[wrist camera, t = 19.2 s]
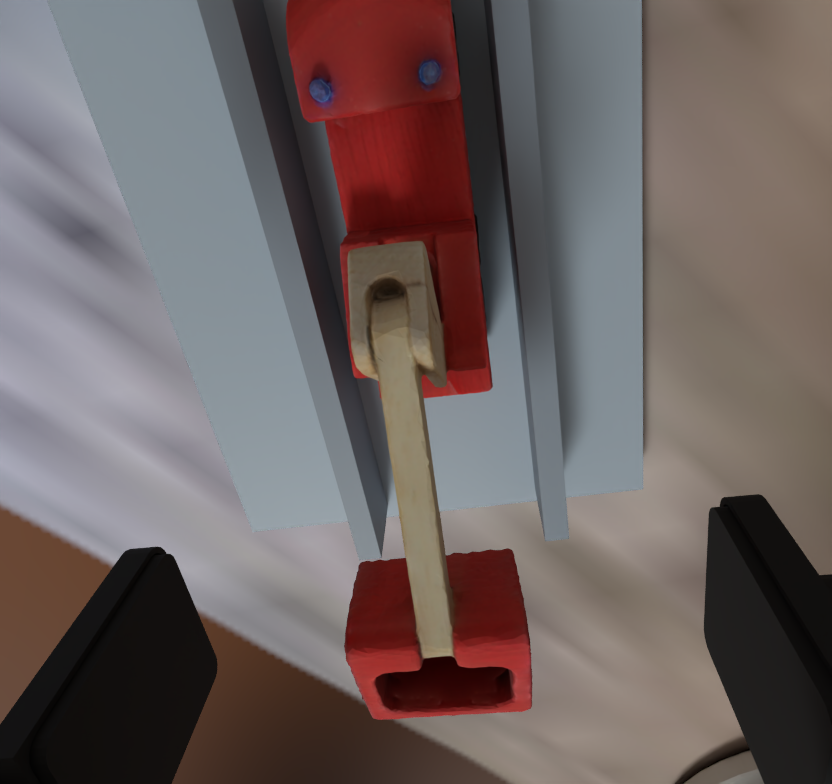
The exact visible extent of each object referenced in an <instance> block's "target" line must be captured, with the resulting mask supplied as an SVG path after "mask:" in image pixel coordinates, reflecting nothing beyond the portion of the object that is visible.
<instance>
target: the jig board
mask: <svg viewBox="0 0 832 784" xmlns="http://www.w3.org/2000/svg"><path fill="white" fill-rule="evenodd" d="M47 2H48V5H49V7H50V10H51V12H52V15H53V18H54V20H55V23H56V25H57V28H58V30H59V33H60V36H61V38H62V41H63V43H64V46H65V49H66V51H67V54H68V56H69V59H70V61H71V64H72V67H73V69H74V72H75V74H76V77H77V80H78V82H79V85H80V87H81V90H82V92H83V95H84V98H85V100H86V103H87V105H88V108H89V111H90V113H91V116H92V118H93V121H94V123H95V126H96V129H97V131H98V134H99V136H100V139H101V141H102V144H103V147H104V149H105V152H106V154H107V157H108V160H109V162H110V165H111V167H112V170H113V172H114V175H115V178H116V180H117V183H118V185H119V188H120V191H121V193H122V196H123V198H124V201H125V203H126V206H127V209H128V211H129V214H130V216H131V219H132V222H133V224H134V227H135V229H136V232H137V234H138V237H139V240H140V242H141V245H142V247H143V250H144V253H145V255H146V258H147V260H148V263H149V265H150V268H151V271H152V273H153V276H154V278H155V281H156V284H157V286H158V289H159V291H160V294H161V296H162V299H163V302H164V304H165V307H166V309H167V312H168V315H169V317H170V320H171V322H172V325H173V327H174V330H175V333H176V335H177V338H178V340H179V343H180V346H181V348H182V351H183V353H184V356H185V358H186V361H187V364H188V366H189V369H190V371H191V374H192V377H193V379H194V382H195V384H196V387H197V389H198V392H199V395H200V397H201V400H202V402H203V405H204V408H205V410H206V413H207V415H208V418H209V420H210V423H211V426H212V428H213V431H214V433H215V436H216V439H217V441H218V444H219V446H220V449H221V451H222V454H223V457H224V459H225V462H226V464H227V467H228V470H229V472H230V475H231V477H232V480H233V482H234V485H235V488H236V490H237V493H238V495H239V498H240V501H241V503H242V506H243V508H244V511H245V513H246V516H247V519H248V521H249V524H250V526H251V529H252V532H257V531H266V530H275V529H284V528H293V527H302V526H312V525H321V524H330V523H339V522H348V523H349V526H350V530H351V533H352V537H353V540H354V544H355V547H356V551H357V554H358V557H359V560H365V559H375V558H381V557H382V549H383V541H384V533H385V525H386V517H394V516H399V509H398V503H397V496H396V490H395V483H394V477H393V471H392V464H391V459H390V453H389V447H388V440H387V432H386V425H385V418H384V412H383V405H382V400H381V398H380V393H379V386H378V381H377V380H375V379H373V378H364V379H361V378H355V377H354V375H353V370H352V363H351V359H350V351H349V345H348V334H347V321H346V309H345V301H344V292H343V282H342V272H341V262H340V244H341V243H342V242H343V239H344V237H345V236H346V235H347V230H346V224H345V220H344V215H343V211H342V207H341V201H340V195H339V191H338V187H337V182H336V177H335V173H334V168H333V164H332V160H331V156H330V147H329V143H328V137H327V133H326V127H325V121H320V122H314V123H310V122H308V121H307V120H305V119H304V117H303V114H302V111H301V107H300V102H299V97H298V93H297V88H296V85H295V80H294V74H293V69H292V65H291V60H290V56H289V49H288V44H287V31H286V10H287V9H286V7H287V2H288V0H47ZM451 8H452V12H453V14H454V16H455V26H456V37H457V46H458V55H459V69H460V77H459V81H460V86H461V91H460V92H461V97H462V103H463V115H464V123H465V131H466V139H467V148H468V156H469V166H470V176H471V183H472V195H473V203H474V214H476V216H477V223H478V231H479V242H480V253H481V264H480V273H481V277H482V283H483V289H484V299H485V309H486V318H487V321H486V327H487V340H488V347H489V357H490V365H491V372H492V383H493V387H492V389H491V390H490V391H487V392H480V393H469V394H463V395H450V396H442V397H432V398H424V405H425V412H426V419H427V426H428V433H429V440H430V448H431V455H432V462H433V469H434V476H435V484H436V491H437V498H438V506H439V511H448V510H458V509H467V508H476V507H485V506H494V505H503V504H512V503H521V502H531V501H538V506H539V511H540V517H541V522H542V527H543V532H544V537H545V541H552V540H562V539H569V530H568V517H567V504H566V498H567V497H576V496H585V495H595V494H604V493H613V492H622V491H631V490H640V489H643V252H642V0H451Z"/></svg>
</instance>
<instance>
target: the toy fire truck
mask: <svg viewBox="0 0 832 784" xmlns="http://www.w3.org/2000/svg"><path fill="white" fill-rule="evenodd" d="M286 9H287V10H286V31H287V44H288V49H289V56H290V60H291V65H292V69H293V74H294V80H295V85H296V88H297V93H298V97H299V102H300V107H301V111H302V114H303V117H304V119H305V120H307V121H308V122H310V123H314V122H320V121H325V127H326V133H327V137H328V143H329V147H330V156H331V160H332V164H333V168H334V173H335V177H336V182H337V187H338V191H339V195H340V201H341V207H342V211H343V215H344V220H345V224H346V230H347V235H346V236H345V237H344V239H343V242H342V243H341V244H340V262H341V272H342V282H343V292H344V301H345V309H346V321H347V334H348V345H349V351H350V359H351V363H352V370H353V375H354V377H355V378H361V379H364V378H373V379H375V380H377V381H378V386H379V393H380V398H381V400H382V405H383V412H384V418H385V425H386V432H387V440H388V447H389V453H390V459H391V464H392V471H393V477H394V483H395V490H396V496H397V503H398V509H399V517H400V522H401V528H402V536H403V543H404V550H405V556H406V558H401V559H390V560H388V561H384V560H377V561H374V562H371V561H365V562H362V563H360V565H359V571H358V572H357V576H356V580H355V582H354V589H353V596H352V599H351V602H350V606H349V613H348V618H347V627H346V633H345V645H344V647H345V653H346V661H347V662H348V665H349V666H350V667H351V672H352V674H353V676H354V678H355V682H356V684H357V686H358V688H359V691H360V693H361V694H362V699H363V700H364V701H365V702H366V704H367V707H368V709H369V711H370V713H371V715H372V717H373V718H374V719H379V720H381V719H400V718H413V717H432V716H443V715H452V716H453V715H461V714H486V713H497V712H523V711H525V710H528V709H531V707H532V669H531V652H530V650H531V649H530V638H529V632H528V624H527V617H526V611H525V607H524V598H523V595H522V591H521V585H520V582H519V576H518V572H517V566H516V563H515V559H514V554H513V551H512V550H510V549H504V550H486V551H482V552H470V553H468V554H463V553H453V554H451V555H448V556H446V555H445V548H444V540H443V533H442V526H441V519H440V512H439V506H438V498H437V491H436V484H435V476H434V469H433V462H432V455H431V448H430V440H429V433H428V426H427V419H426V412H425V405H424V398H432V397H442V396H450V395H463V394H469V393H480V392H487V391H490V390H491V389H492V387H493V383H492V372H491V365H490V357H489V347H488V340H487V327H486V321H487V318H486V309H485V299H484V289H483V283H482V277H481V273H480V264H481V253H480V242H479V231H478V223H477V216H476V214H474V203H473V195H472V183H471V176H470V166H469V156H468V148H467V139H466V131H465V123H464V115H463V103H462V97H461V92H460V91H461V86H460V81H459V77H460V69H459V55H458V46H457V37H456V26H455V16H454V14H453V12H452V8H451V0H288V2H287V7H286Z"/></svg>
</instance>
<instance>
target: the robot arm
mask: <svg viewBox="0 0 832 784" xmlns="http://www.w3.org/2000/svg"><path fill="white" fill-rule="evenodd" d="M704 634H705V639H706V644H707V647H708V650H709V653H710V655H711V658H712V660H713V662H714V665H715V667H716V670H717V672H718V674H719V677H720V679H721V682H722V684H723V686H724V689H725V691H726V693H727V696H728V698H729V701H730V703H731V705H732V708H733V710H734V713H735V715H736V717H737V720H738V722H739V725H740V727H741V729H742V732H743V734H744V737H745V739H746V741H747V744H748V746H749V749H750V750H749V751H745V752H742V753H740V754H737V755H734V756H732V757H729V758H726V759H724V760H721V761H719V762H717V763H715V764H713V765H711V766H709V767H707V768H706V769H704V770H702V771H700V772H699V773H697V774H696V775H694V776H693V777H692V778H690V779H689V780H688V781H686V782H685V783H684V784H832V574H831V575H819V574H818V573H817V572H816V570H815V569H814V567H813V566H812V564H811V563H810V562H809V560H808V559H807V557H806V556H805V554H804V553H803V552H802V550H801V549H800V547H799V546H798V544H797V543H796V542H795V540H794V539H793V537H792V536H791V534H790V533H789V532H788V530H787V529H786V527H785V526H784V524H783V523H782V522H781V520H780V519H779V517H778V516H777V514H776V513H775V512H774V510H773V509H772V507H771V506H770V504H769V503H768V502H767V500H766V499H765V498H764V497H763V496H762V495H759V494H758V495H746V496H735V497H724V498H722V500H721V502H720V507H713V508H711V509H710V511H709V524H708V546H707V569H706V591H705V614H704ZM216 674H217V658H216V655H215V653H214V650H213V648H212V646H211V643H210V641H209V639H208V636H207V634H206V632H205V629H204V627H203V624H202V622H201V620H200V617H199V615H198V612H197V610H196V608H195V605H194V603H193V601H192V598H191V596H190V594H189V591H188V589H187V586H186V584H185V582H184V579H183V577H182V575H181V572H180V570H179V567H178V565H177V563H176V560H175V559H174V557H173V556H172V555H171V554H166V552H165V550H163V549H162V548H161V547H149V548H138V549H129V550H127V551H125V552H124V553H123V554H122V556H121V557H120V558H119V560H118V561H117V563H116V564H115V565H114V567H113V568H112V570H111V571H110V573H109V574H108V575H107V577H106V578H105V579H104V581H103V582H102V583H101V585H100V586H99V588H98V589H97V590H96V592H95V593H94V595H93V596H92V597H91V599H90V600H89V602H88V603H87V604H86V606H85V607H84V609H83V610H82V611H81V613H80V614H79V615H78V617H77V618H76V620H75V621H74V622H73V624H72V625H71V627H70V628H69V629H68V631H67V632H66V634H65V635H64V636H63V638H62V639H61V641H60V642H59V643H58V645H57V646H56V648H55V649H54V650H53V652H52V653H51V655H50V656H49V657H48V659H47V660H46V661H45V663H44V664H43V666H42V667H41V668H40V670H39V671H38V673H37V674H36V675H35V677H34V678H33V680H32V681H31V683H30V684H29V685H28V687H27V688H26V689H25V691H24V692H23V694H22V695H21V696H20V698H19V699H18V701H17V702H16V703H15V705H14V706H13V708H12V709H11V710H10V712H9V713H8V714H7V716H6V717H5V719H4V720H3V721H2V723H1V724H0V784H172V781H173V779H174V776H175V774H176V771H177V769H178V767H179V764H180V761H181V759H182V757H183V755H184V752H185V750H186V748H187V745H188V743H189V740H190V738H191V735H192V733H193V730H194V728H195V726H196V723H197V721H198V719H199V716H200V714H201V712H202V709H203V707H204V704H205V702H206V700H207V697H208V695H209V692H210V690H211V687H212V685H213V683H214V680H215V677H216Z"/></svg>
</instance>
